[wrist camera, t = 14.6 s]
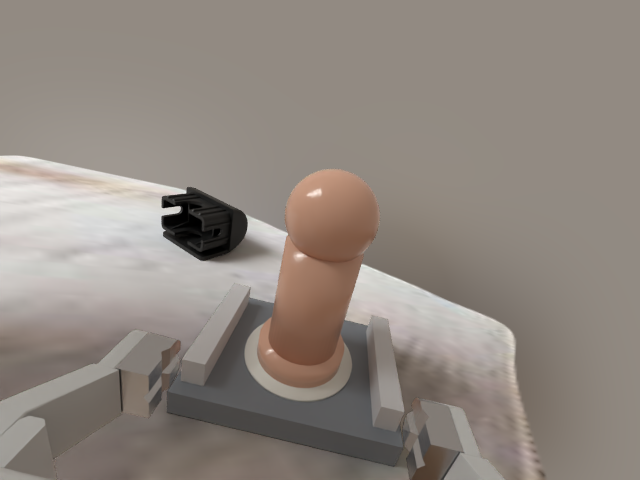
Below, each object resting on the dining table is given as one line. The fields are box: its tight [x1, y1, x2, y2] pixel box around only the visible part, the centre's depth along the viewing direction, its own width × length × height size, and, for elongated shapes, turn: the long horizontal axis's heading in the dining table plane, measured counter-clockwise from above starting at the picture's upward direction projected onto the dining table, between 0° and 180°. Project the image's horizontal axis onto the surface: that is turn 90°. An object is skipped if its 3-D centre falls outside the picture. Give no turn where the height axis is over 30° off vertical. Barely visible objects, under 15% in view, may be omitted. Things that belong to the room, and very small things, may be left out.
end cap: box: [162, 187, 248, 261], centre depth 43 cm, size 10×7×7 cm
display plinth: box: [167, 283, 405, 466], centre depth 26 cm, size 16×12×4 cm
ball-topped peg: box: [257, 169, 380, 388], centre depth 23 cm, size 7×7×15 cm
